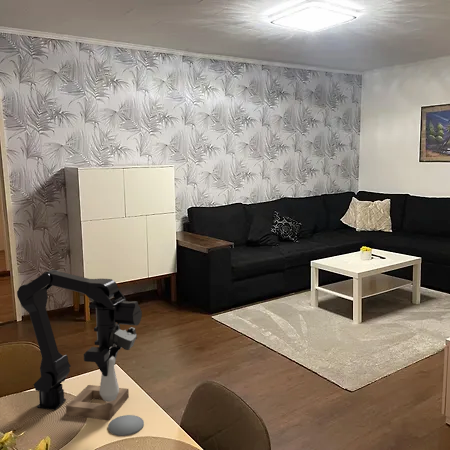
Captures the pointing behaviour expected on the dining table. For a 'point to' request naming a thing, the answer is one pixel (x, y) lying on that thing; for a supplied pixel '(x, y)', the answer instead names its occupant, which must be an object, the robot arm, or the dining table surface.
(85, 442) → the dining table surface
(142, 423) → the slate coaster
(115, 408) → the walnut frame
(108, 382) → the salt shaker
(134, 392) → the dining table surface
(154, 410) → the dining table surface
